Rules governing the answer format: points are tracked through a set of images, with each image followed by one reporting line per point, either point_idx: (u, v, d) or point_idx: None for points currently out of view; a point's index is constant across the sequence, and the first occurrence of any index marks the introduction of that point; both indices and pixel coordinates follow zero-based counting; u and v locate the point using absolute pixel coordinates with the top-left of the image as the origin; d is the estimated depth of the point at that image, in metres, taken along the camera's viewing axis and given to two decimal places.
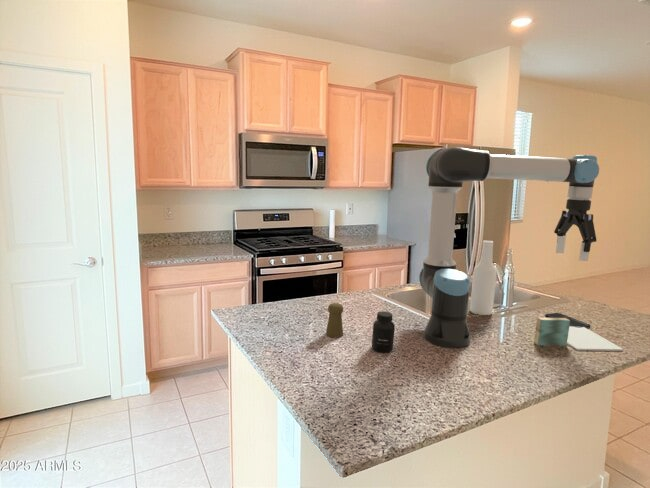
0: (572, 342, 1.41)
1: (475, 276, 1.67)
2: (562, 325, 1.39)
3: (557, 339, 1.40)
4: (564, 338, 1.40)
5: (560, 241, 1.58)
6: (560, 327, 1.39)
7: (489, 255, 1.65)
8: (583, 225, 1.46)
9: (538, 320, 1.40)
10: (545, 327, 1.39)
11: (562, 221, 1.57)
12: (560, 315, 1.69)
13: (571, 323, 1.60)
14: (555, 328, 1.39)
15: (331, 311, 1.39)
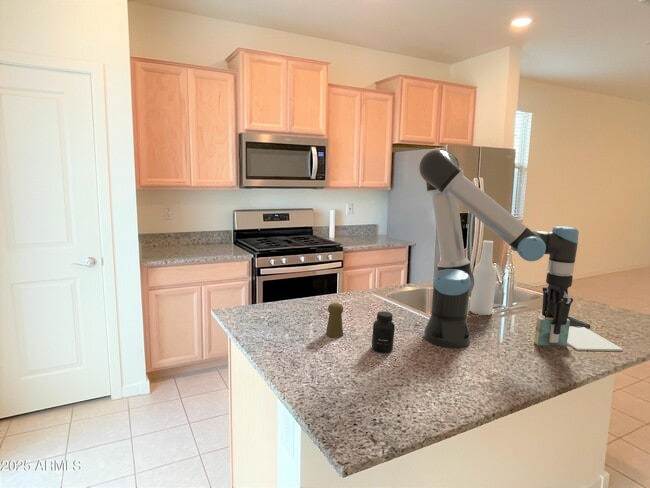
0: (572, 342, 1.41)
1: (475, 276, 1.67)
2: (562, 325, 1.39)
3: None
4: (564, 338, 1.40)
5: None
6: None
7: (489, 255, 1.65)
8: (560, 305, 1.36)
9: (538, 320, 1.40)
10: (545, 327, 1.39)
11: (546, 299, 1.43)
12: None
13: (571, 323, 1.60)
14: None
15: (331, 311, 1.39)
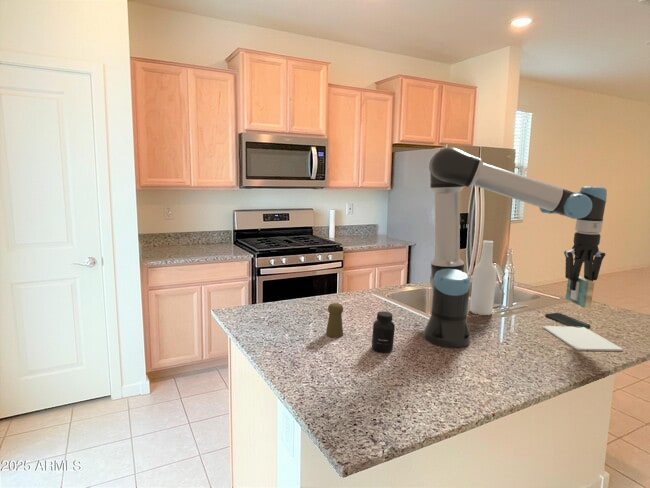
0: (572, 342, 1.41)
1: (475, 276, 1.67)
2: (582, 285, 1.40)
3: (578, 298, 1.42)
4: (582, 299, 1.40)
5: None
6: (580, 286, 1.41)
7: (489, 255, 1.65)
8: (576, 262, 1.41)
9: None
10: None
11: (594, 262, 1.42)
12: (560, 315, 1.69)
13: (571, 323, 1.60)
14: None
15: (331, 311, 1.39)
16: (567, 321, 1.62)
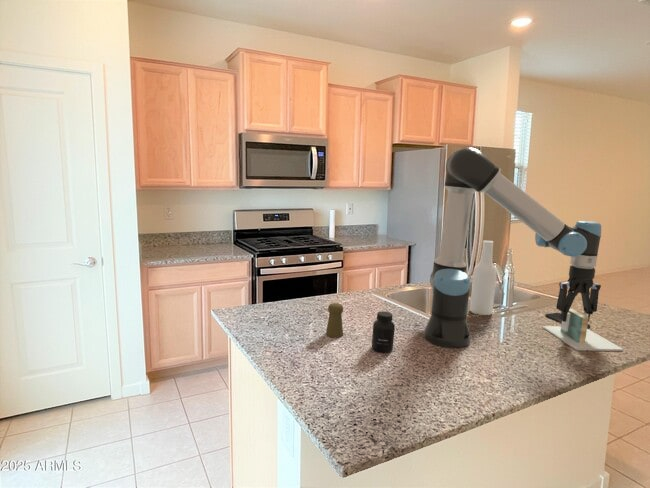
0: (572, 342, 1.41)
1: (475, 276, 1.67)
2: (576, 320, 1.43)
3: (572, 332, 1.44)
4: (577, 334, 1.42)
5: None
6: (575, 321, 1.43)
7: (489, 255, 1.65)
8: (570, 294, 1.44)
9: None
10: None
11: (591, 294, 1.45)
12: (560, 315, 1.69)
13: None
14: (571, 320, 1.45)
15: (331, 311, 1.39)
16: None
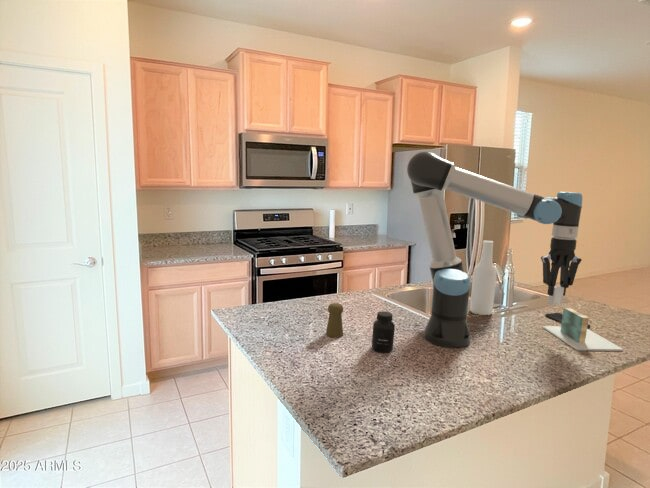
0: (572, 342, 1.41)
1: (475, 276, 1.67)
2: (576, 320, 1.43)
3: (572, 332, 1.44)
4: (577, 334, 1.42)
5: (558, 291, 1.44)
6: (575, 321, 1.43)
7: (489, 255, 1.65)
8: (553, 267, 1.41)
9: None
10: (565, 316, 1.48)
11: (570, 267, 1.43)
12: (561, 315, 1.69)
13: None
14: (571, 320, 1.45)
15: (331, 311, 1.39)
16: None
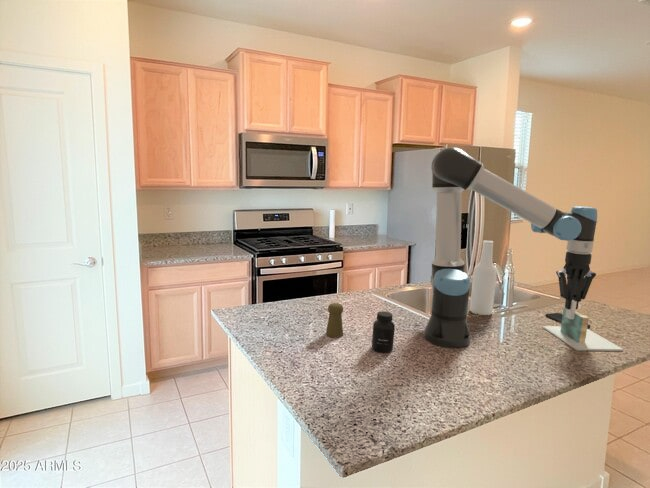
0: (572, 342, 1.41)
1: (475, 276, 1.67)
2: (576, 320, 1.43)
3: (572, 332, 1.44)
4: (577, 334, 1.42)
5: None
6: (575, 321, 1.43)
7: (489, 255, 1.65)
8: (569, 281, 1.43)
9: None
10: None
11: (583, 281, 1.44)
12: (561, 315, 1.69)
13: None
14: (571, 320, 1.45)
15: (331, 311, 1.39)
16: None
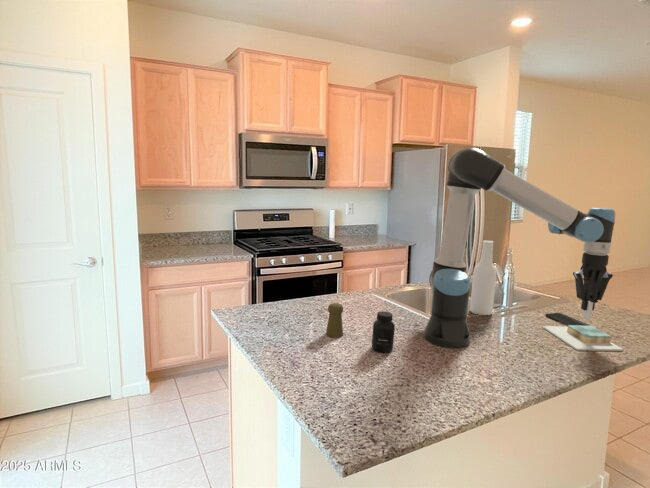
0: (572, 342, 1.41)
1: (475, 276, 1.67)
2: (601, 333, 1.44)
3: (585, 332, 1.45)
4: (591, 334, 1.42)
5: None
6: (598, 332, 1.44)
7: (489, 255, 1.65)
8: (586, 282, 1.43)
9: None
10: (588, 327, 1.50)
11: (600, 282, 1.44)
12: (561, 315, 1.69)
13: (570, 323, 1.60)
14: (593, 331, 1.46)
15: (331, 311, 1.39)
16: (567, 321, 1.62)
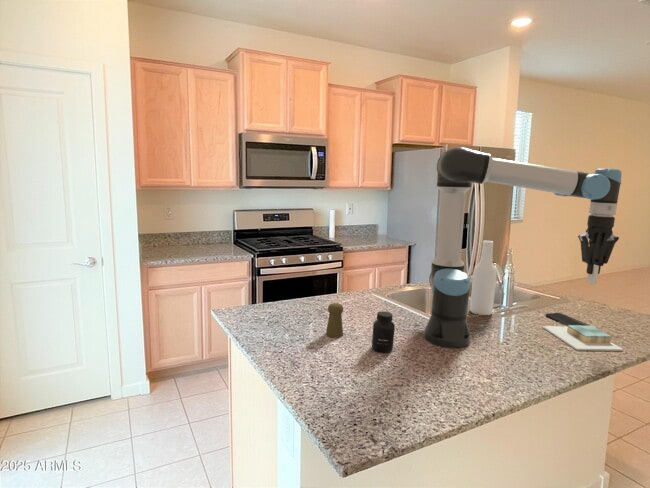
0: (572, 342, 1.41)
1: (475, 276, 1.67)
2: (601, 333, 1.44)
3: (585, 332, 1.45)
4: (591, 334, 1.42)
5: None
6: (598, 332, 1.44)
7: (489, 255, 1.65)
8: (591, 245, 1.41)
9: None
10: (588, 327, 1.50)
11: (606, 246, 1.42)
12: (561, 315, 1.69)
13: (570, 323, 1.60)
14: (593, 331, 1.46)
15: (331, 311, 1.39)
16: (567, 321, 1.62)
